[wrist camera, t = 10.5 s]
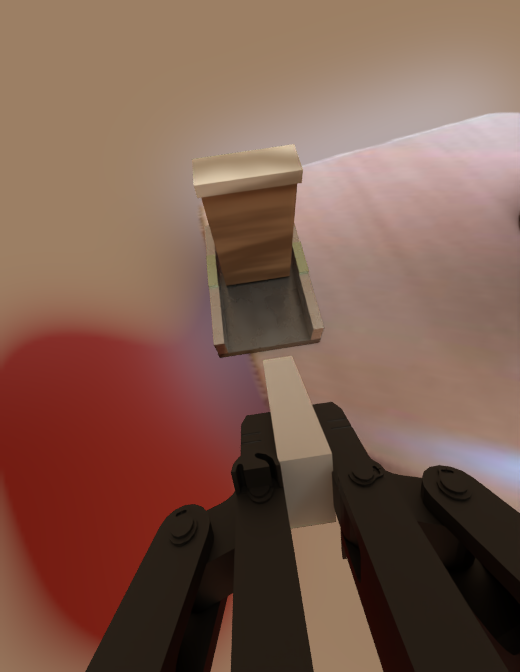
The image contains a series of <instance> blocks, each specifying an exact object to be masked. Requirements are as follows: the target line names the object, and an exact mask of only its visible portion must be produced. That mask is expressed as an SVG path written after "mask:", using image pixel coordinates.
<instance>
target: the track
mask: <svg viewBox="0 0 520 672" xmlns="http://www.w3.org/2000/svg"><path fill="white" fill-rule="evenodd" d="M204 228H205V240H206V253H207V256H206V260H207V273H208V284H209V290H210V303H211V316H212V329H213V341H214V346H215V348H216V350H217V352H218V355H219V357H220V358H222V357H229V356H235V355H242V354H248V353H254V352H261V351H267V350H273V349H280V348H286V347H292V346H299V345H305V344H312V343H318V342H320V339H321V338H320V337H321V334H322V332H323V329H324V326H323V323H322V319H321V316H320V312H319V309H318V305H317V301H316V298H315V294H314V291H313V287H312V284H311V280H310V277H309V273H308V272H309V270H308V267H307V263H306V260H305V256H304V253H303V249H302V246H301V242H299V238H298V235H297V231H296V228H295V224H294V229H293V241H292V253H291V265H290V276H286V277H280V278H273V279H267V280H260V281H254V282H247V283H240V284H234V285H227V286H226V283H225V280H224V276H223V273H222V269H221V266H220V262H219V258H218V255H217V251H216V248H215V244H214V241H213V237H212V234H211V230H210V226H209V225H208V226H204Z"/></svg>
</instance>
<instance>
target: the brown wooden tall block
mask: <svg viewBox="0 0 520 672" xmlns="http://www.w3.org/2000/svg"><path fill="white" fill-rule="evenodd" d="M192 163H193V179H194V188H195V191H196V195H197V198H202V202H203V205H204V209H205V212H206V216H207V219H208V223H209V226H210V230H211V234H212V237H213V241H214V244H215V248H216V251H217V255H218V258H219V262H220V266H221V269H222V273H223V276H224V280H225V283H226V286H227V285H234V284H240V283H247V282H254V281H260V280H267V279H273V278H280V277H286V276H290V265H291V253H292V241H293V229H294V216H295V204H296V192H297V183H302V173H303V169H302V166H301V163H300V160H299V157H298V155H297V151H296V149H295V146H294V144H293V145H286V146H279V147H272V148H266V149H259V150H252V151H245V152H238V153H231V154H224V155H218V156H210V157H204V158H196V159H192Z"/></svg>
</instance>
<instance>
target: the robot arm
mask: <svg viewBox="0 0 520 672" xmlns="http://www.w3.org/2000/svg"><path fill="white" fill-rule="evenodd" d="M263 365H264V372H265V378H266V385H267V392H268V398H269V405H270V412H267V413H261V414H255V415H248V416H246V418H245V419H244V421H243V423H242V425H241V456H240V457H239V458H238V459H237V460H236V461H235V463H234V464H233V467H232V471H231V475H232V479H233V483H234V487H235V492H234V494H233V495H232V496H231V497H230V498H229V499H227V500H226V501H224V502H223V503H221V504H219V505H217V506H215V507H213V508H211V509H209V510H207V511H206V510H205V509H204V508H203V507H201V506H198V505H195V504H192V505H185V506H182V507H180V508H179V509H176V510H175V511H173V512H172V513H171V514H170V515H169V516H168V517H166V519H165V520H164V522H163V523H162V525H161V526H160V528H159V529H158V531H157V533H156V536H155V537H154V539H153V541H152V543H151V545H150V547H149V549H148V551H147V553H146V555H145V557H144V559H143V561H142V563H141V565H140V566H139V568H138V570H137V573H136V574H135V576H134V578H133V580H132V582H131V584H130V586H129V588H128V590H127V592H126V594H125V596H124V598H123V600H122V602H121V604H120V606H119V608H118V609H117V611H116V613H115V615H114V617H113V619H112V621H111V623H110V625H109V627H108V629H107V631H106V633H105V635H104V637H103V639H102V641H101V643H100V645H99V646H98V648H97V650H96V652H95V654H94V656H93V658H92V660H91V662H90V664H89V666H88V668H87V670H86V672H210V671H211V667H212V662H213V658H214V653H215V649H216V644H217V640H218V636H219V631H220V627H221V623H222V619H223V614H224V610H225V605H226V601H227V597H228V596H229V595H230V594H232V593H233V619H232V652H231V672H314V671H313V665H312V658H311V652H310V646H309V640H308V634H307V628H306V622H305V616H304V609H303V603H302V597H301V591H300V584H299V578H298V572H297V566H296V560H295V553H294V547H293V541H292V535H291V528H298V527H305V526H312V525H318V524H325V523H331V522H336V515H337V518H338V521H339V524H340V527H341V544H342V557H343V559H348V562H349V565H350V569H351V571H352V575H353V578H354V581H355V584H356V587H357V590H358V594H359V597H360V600H361V603H362V606H363V609H364V612H365V615H366V618H367V622H368V625H369V628H370V631H371V634H372V637H373V640H374V643H375V647H376V649H377V653H378V656H379V659H380V662H381V665H382V668H383V672H520V513H519V512H517V511H516V510H515V509H513V508H512V507H511V506H509V505H508V504H507V503H506V502H504V501H503V500H502V499H500V498H499V497H498V496H496V495H495V494H494V493H492V492H491V491H490V490H489V489H487V488H486V487H485V486H483V485H482V484H481V483H479V482H478V481H477V480H476V479H474V478H473V477H471V476H470V475H468V474H466V473H465V472H463V471H461V470H458V469H455V468H452V467H449V466H440V465H438V466H433V467H429V468H428V469H427V470H425V471H424V473H423V477H422V478H418V477H410V476H403V475H398V474H393V473H390V472H388V471H386V470H385V469H384V468H383V467H382V466H381V465H380V464H379V463H377V462H375V461H374V460H372V459H371V458H370V457H369V456H368V454H367V452H366V450H365V449H364V447H363V445H362V443H361V442H360V440H359V438H358V437H357V435H356V433H355V431H354V430H353V428H352V427H351V424H350V423H349V421H348V420H347V417H346V416H345V414H344V412H343V411H342V409H341V408H340V407H338V406H337V405H336V404H334V403H333V402H328V403H321V404H315V405H312V404H311V401H310V399H309V396H308V394H307V391H306V389H305V387H304V384H303V382H302V379H301V377H300V374H299V372H298V370H297V367H296V365H295V362H294V360H293V357H292V356H287V357H280V358H274V359H267V360H263ZM335 512H336V515H335Z"/></svg>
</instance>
